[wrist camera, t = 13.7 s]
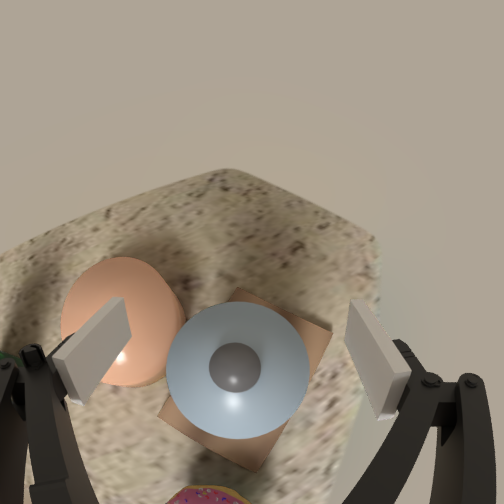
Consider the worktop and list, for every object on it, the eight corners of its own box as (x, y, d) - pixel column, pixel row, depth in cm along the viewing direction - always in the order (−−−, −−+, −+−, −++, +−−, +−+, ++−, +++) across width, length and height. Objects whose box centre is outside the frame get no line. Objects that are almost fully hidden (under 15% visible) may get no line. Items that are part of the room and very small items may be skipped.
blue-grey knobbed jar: (181, 395, 25) (134, 388, 15) (227, 320, 28) (209, 271, 19) (264, 440, 22) (266, 466, 12) (308, 360, 26) (337, 334, 16)
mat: (160, 415, 24) (157, 416, 23) (238, 290, 31) (237, 286, 30) (256, 470, 21) (256, 473, 21) (331, 335, 28) (333, 333, 27)
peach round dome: (68, 343, 28) (43, 331, 24) (124, 259, 33) (107, 238, 29) (146, 411, 25) (125, 411, 20) (209, 310, 30) (199, 294, 26)
